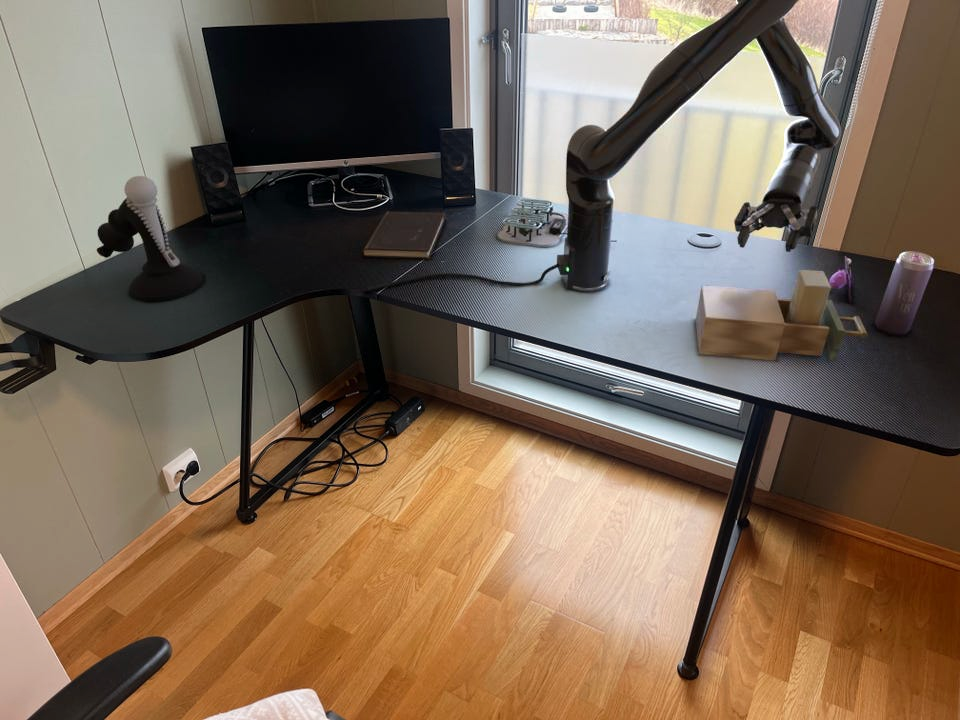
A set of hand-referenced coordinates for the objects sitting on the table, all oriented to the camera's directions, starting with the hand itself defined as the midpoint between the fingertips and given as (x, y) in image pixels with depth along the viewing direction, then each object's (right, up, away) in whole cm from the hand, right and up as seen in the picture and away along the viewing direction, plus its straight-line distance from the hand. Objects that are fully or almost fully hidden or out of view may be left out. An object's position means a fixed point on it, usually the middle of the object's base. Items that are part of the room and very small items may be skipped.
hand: (764, 246), depth 132 cm
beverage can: (+26, -16, +3) cm, 30 cm away
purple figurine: (+22, -7, +15) cm, 27 cm away
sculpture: (-128, -4, +25) cm, 131 cm away
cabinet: (-6, -18, 0) cm, 19 cm away
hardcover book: (-73, +9, +43) cm, 85 cm away
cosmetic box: (+5, -17, -2) cm, 18 cm away
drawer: (+7, -18, -2) cm, 20 cm away
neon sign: (-33, +11, +44) cm, 56 cm away
